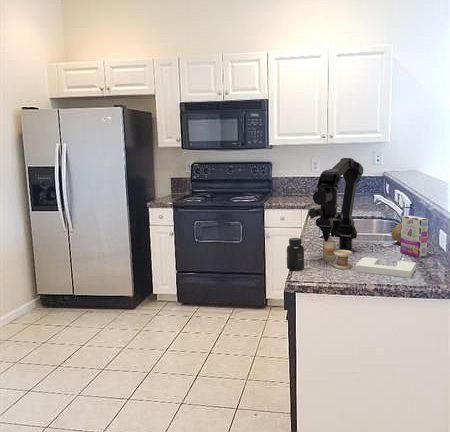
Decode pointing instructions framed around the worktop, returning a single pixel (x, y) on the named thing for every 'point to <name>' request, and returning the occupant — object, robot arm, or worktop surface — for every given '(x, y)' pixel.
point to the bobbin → (342, 259)
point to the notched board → (385, 268)
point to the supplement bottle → (295, 254)
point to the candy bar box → (414, 236)
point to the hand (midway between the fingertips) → (329, 238)
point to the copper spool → (329, 250)
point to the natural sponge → (397, 233)
